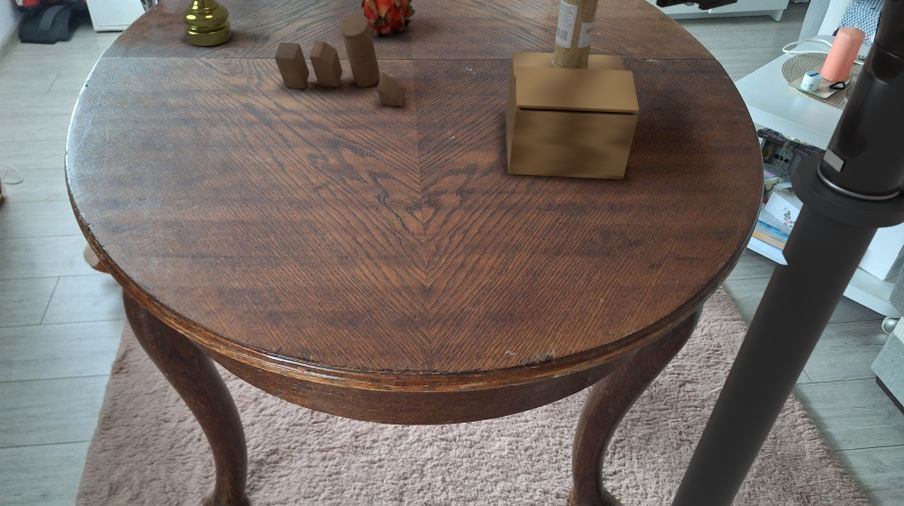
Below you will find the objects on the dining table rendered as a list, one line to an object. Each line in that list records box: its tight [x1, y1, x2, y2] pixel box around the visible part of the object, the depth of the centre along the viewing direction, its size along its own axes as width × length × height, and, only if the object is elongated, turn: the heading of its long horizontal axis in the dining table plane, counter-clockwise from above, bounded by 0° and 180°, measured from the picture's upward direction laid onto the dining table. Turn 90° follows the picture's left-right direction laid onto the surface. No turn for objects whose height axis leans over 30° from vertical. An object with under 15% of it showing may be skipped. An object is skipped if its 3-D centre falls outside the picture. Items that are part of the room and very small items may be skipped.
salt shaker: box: [180, 0, 232, 47], centre depth 118 cm, size 7×7×10 cm
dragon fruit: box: [360, 0, 416, 37], centre depth 122 cm, size 8×8×12 cm
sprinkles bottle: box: [552, 0, 599, 69], centre depth 88 cm, size 5×5×14 cm
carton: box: [504, 50, 639, 180], centre depth 93 cm, size 14×15×9 cm
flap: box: [516, 66, 640, 114], centre depth 87 cm, size 14×7×1 cm, turn 85°
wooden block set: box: [274, 12, 407, 107], centre depth 104 cm, size 18×9×10 cm, turn 76°
